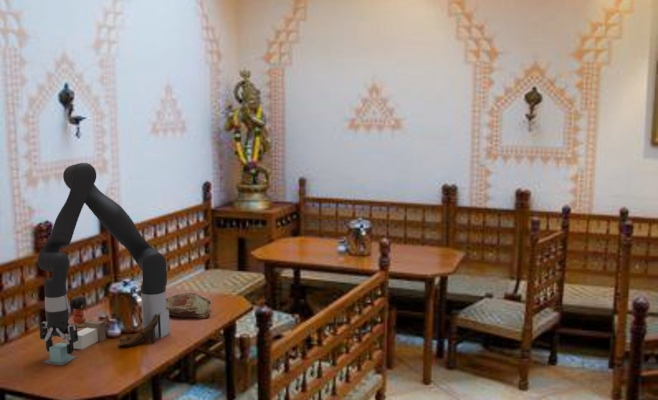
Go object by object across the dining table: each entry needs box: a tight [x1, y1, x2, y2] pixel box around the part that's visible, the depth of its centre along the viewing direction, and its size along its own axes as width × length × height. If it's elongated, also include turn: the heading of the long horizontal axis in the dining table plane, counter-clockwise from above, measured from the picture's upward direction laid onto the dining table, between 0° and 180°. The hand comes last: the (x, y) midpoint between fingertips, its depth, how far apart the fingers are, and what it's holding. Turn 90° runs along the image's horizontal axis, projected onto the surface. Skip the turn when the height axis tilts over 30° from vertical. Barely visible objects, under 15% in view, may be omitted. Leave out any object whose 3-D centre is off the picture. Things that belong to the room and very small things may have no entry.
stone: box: [166, 292, 212, 319], centre depth 302 cm, size 24×18×6 cm
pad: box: [42, 355, 78, 366], centre depth 252 cm, size 8×8×1 cm
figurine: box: [69, 295, 87, 328], centre depth 287 cm, size 6×6×12 cm
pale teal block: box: [49, 342, 71, 363], centre depth 251 cm, size 4×5×5 cm
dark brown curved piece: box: [117, 315, 159, 348], centre depth 267 cm, size 8×10×15 cm
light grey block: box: [73, 319, 107, 350], centre depth 268 cm, size 7×12×7 cm, turn 161°
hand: (60, 352), depth 251 cm, fingers open, 8 cm apart
